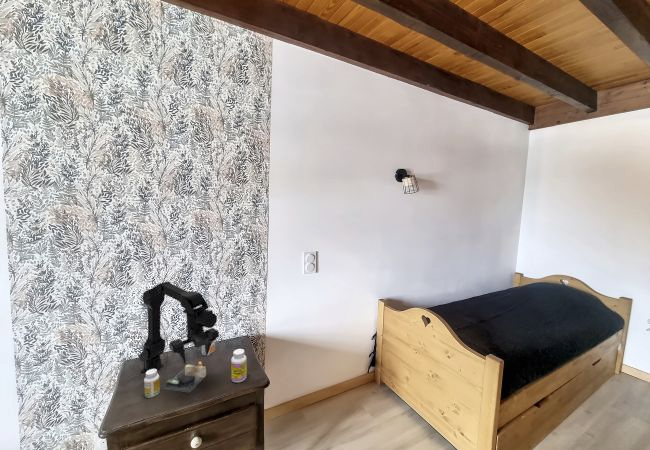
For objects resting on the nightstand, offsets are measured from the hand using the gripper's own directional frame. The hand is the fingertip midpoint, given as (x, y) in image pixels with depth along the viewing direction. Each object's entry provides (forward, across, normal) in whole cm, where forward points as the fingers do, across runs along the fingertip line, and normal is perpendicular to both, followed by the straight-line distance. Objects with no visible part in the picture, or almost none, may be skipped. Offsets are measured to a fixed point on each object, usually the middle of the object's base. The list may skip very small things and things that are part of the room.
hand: (196, 358), depth 119 cm
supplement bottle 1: (+12, -15, +9) cm, 21 cm away
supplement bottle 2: (+13, +16, -8) cm, 22 cm away
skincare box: (+12, +15, +24) cm, 31 cm away
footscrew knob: (+11, -1, +4) cm, 12 cm away
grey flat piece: (+12, 0, +8) cm, 15 cm away
